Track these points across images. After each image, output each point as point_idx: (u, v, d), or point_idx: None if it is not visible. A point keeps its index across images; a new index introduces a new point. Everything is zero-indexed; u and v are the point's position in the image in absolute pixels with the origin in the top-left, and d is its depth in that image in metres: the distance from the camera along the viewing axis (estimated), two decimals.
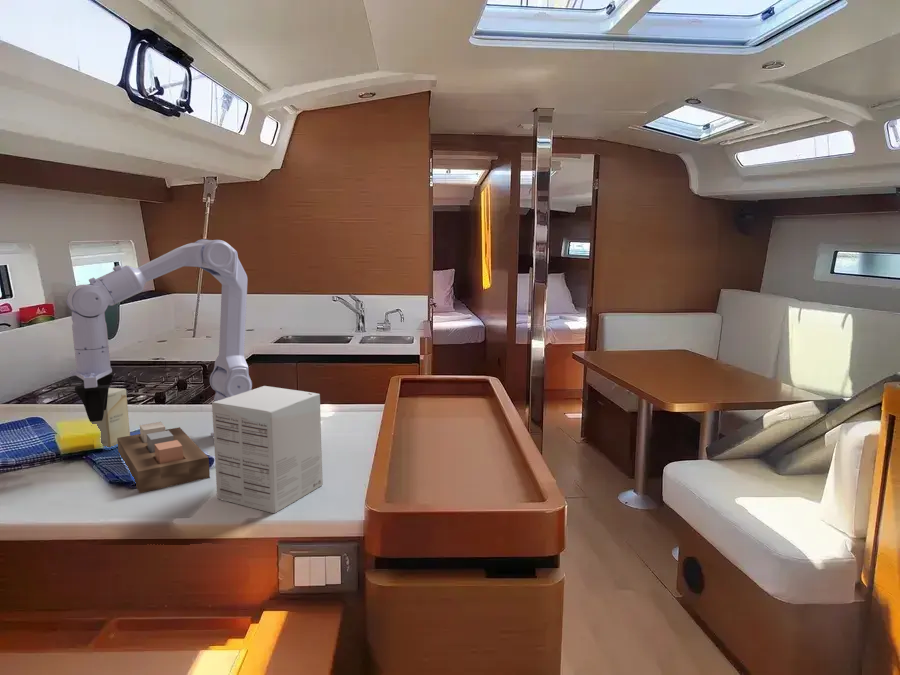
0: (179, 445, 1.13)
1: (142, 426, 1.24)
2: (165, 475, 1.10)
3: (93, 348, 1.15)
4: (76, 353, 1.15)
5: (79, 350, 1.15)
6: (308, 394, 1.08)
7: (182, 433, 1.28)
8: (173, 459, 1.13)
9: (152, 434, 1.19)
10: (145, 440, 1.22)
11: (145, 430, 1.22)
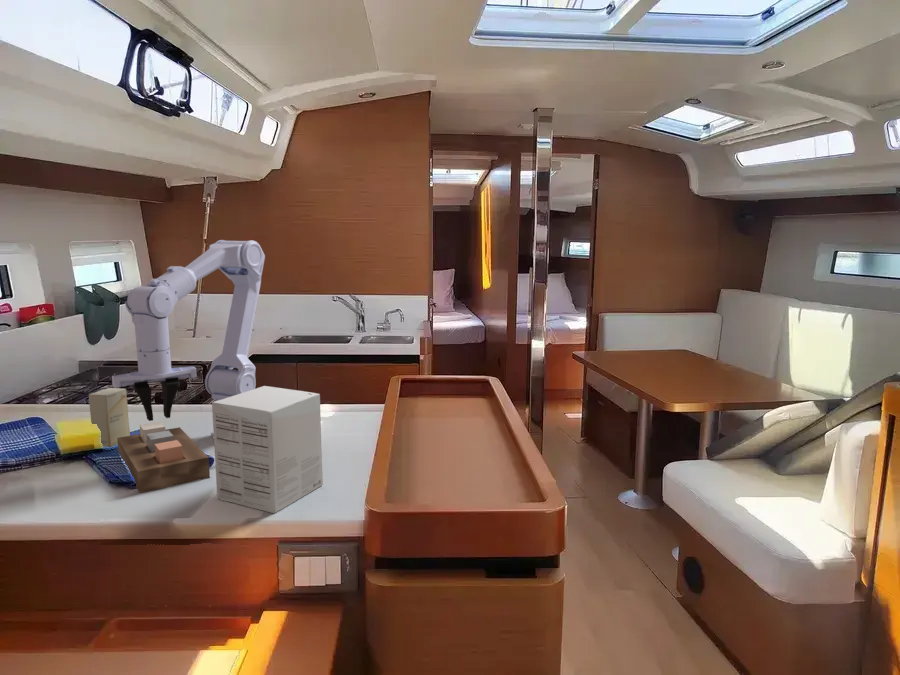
0: (179, 445, 1.13)
1: (142, 426, 1.24)
2: (165, 475, 1.10)
3: (163, 349, 1.15)
4: None
5: None
6: (308, 394, 1.08)
7: (182, 433, 1.28)
8: (173, 459, 1.13)
9: (152, 434, 1.19)
10: (145, 440, 1.22)
11: (145, 430, 1.22)
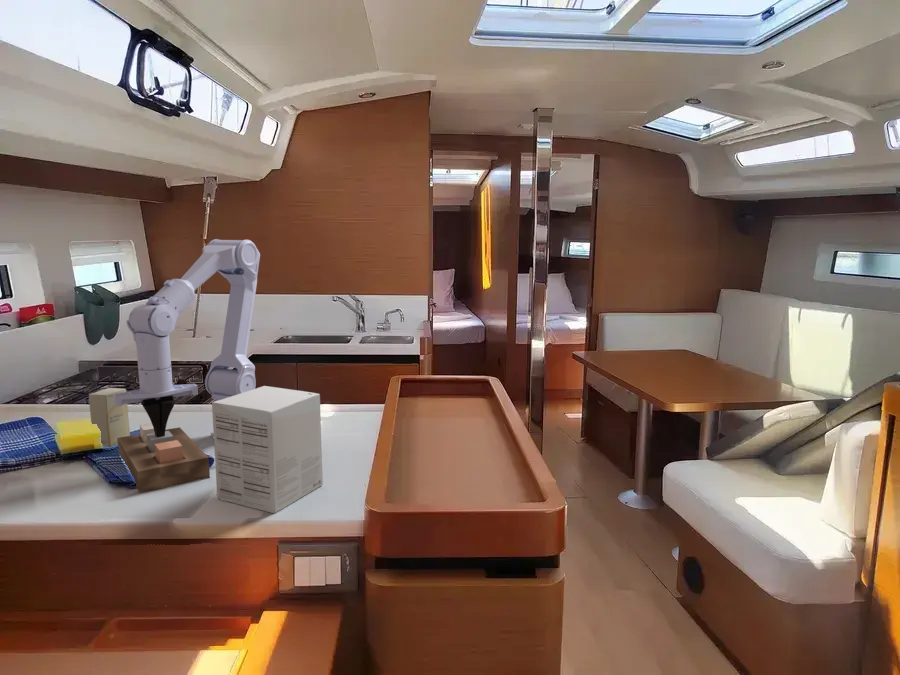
0: (179, 445, 1.13)
1: (142, 426, 1.24)
2: (165, 475, 1.10)
3: (164, 367, 1.16)
4: None
5: None
6: (308, 394, 1.08)
7: (182, 433, 1.28)
8: (173, 459, 1.13)
9: (152, 434, 1.19)
10: (145, 440, 1.22)
11: (145, 430, 1.22)
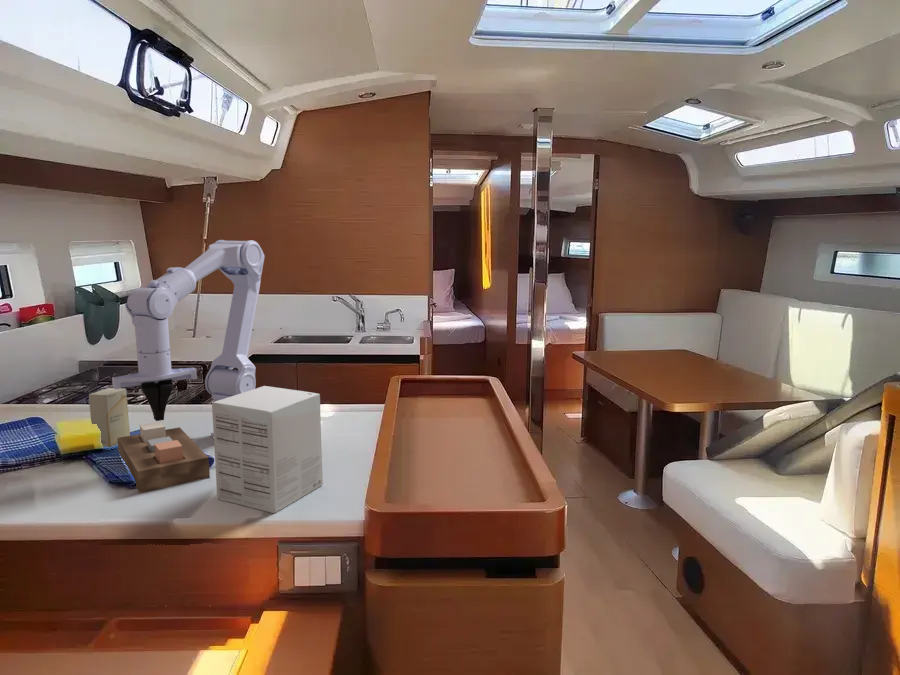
0: (179, 445, 1.13)
1: (142, 426, 1.24)
2: (165, 475, 1.10)
3: (163, 350, 1.15)
4: None
5: None
6: (308, 394, 1.08)
7: (182, 433, 1.28)
8: (173, 459, 1.13)
9: (152, 440, 1.20)
10: (145, 440, 1.22)
11: (145, 430, 1.22)
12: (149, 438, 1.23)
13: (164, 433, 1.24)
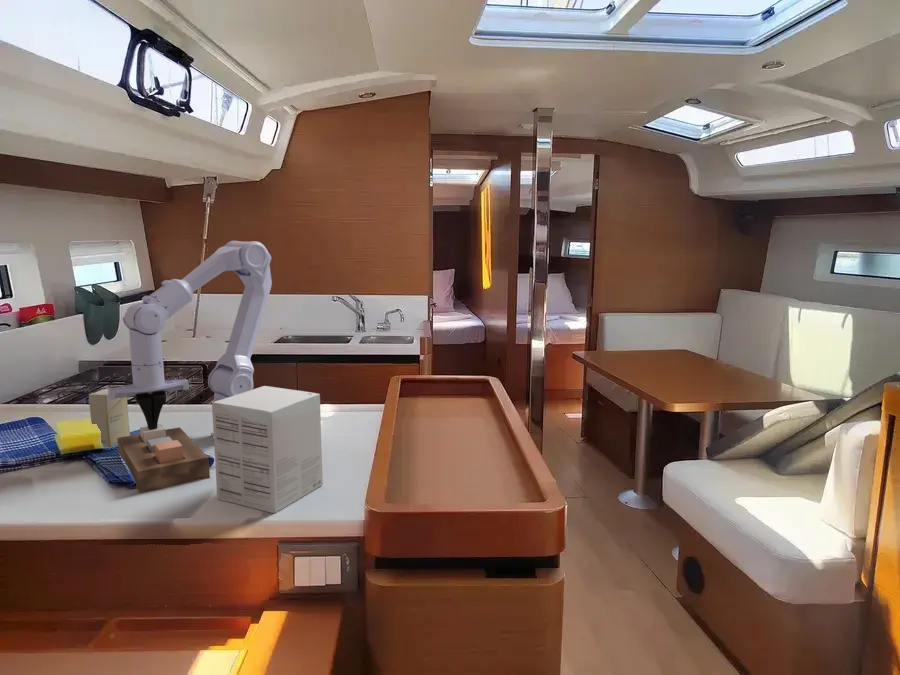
0: (179, 445, 1.13)
1: (142, 428, 1.24)
2: (165, 475, 1.10)
3: (152, 364, 1.20)
4: None
5: None
6: (308, 394, 1.08)
7: (182, 433, 1.28)
8: (173, 459, 1.13)
9: (152, 440, 1.20)
10: (145, 442, 1.22)
11: (145, 432, 1.22)
12: None
13: (164, 435, 1.24)
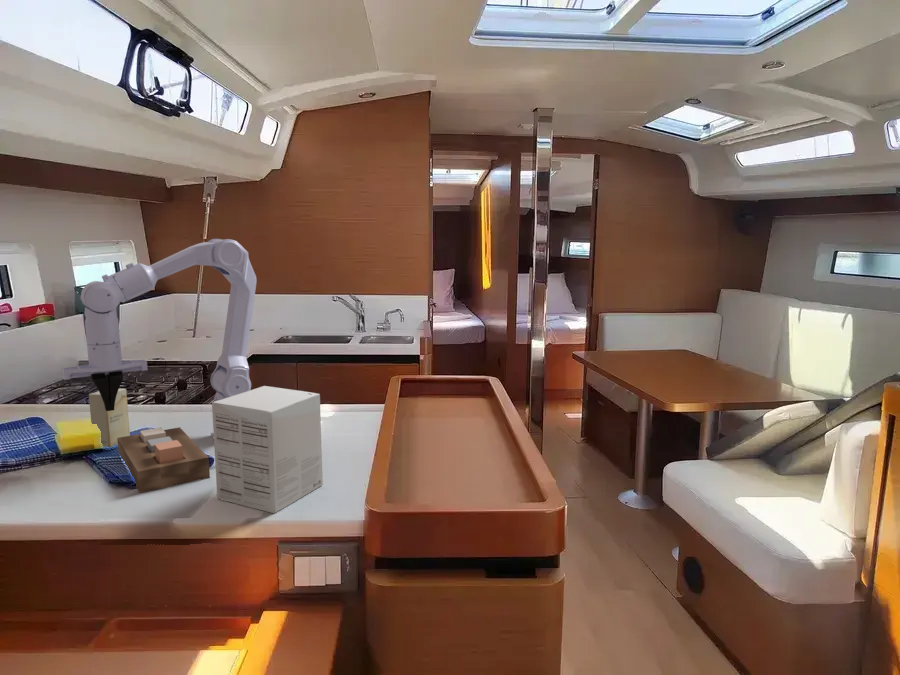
0: (179, 445, 1.13)
1: (142, 432, 1.24)
2: (165, 475, 1.10)
3: (104, 343, 1.18)
4: None
5: None
6: (308, 394, 1.08)
7: (182, 433, 1.28)
8: (173, 459, 1.13)
9: (152, 440, 1.20)
10: None
11: (145, 436, 1.22)
12: None
13: None
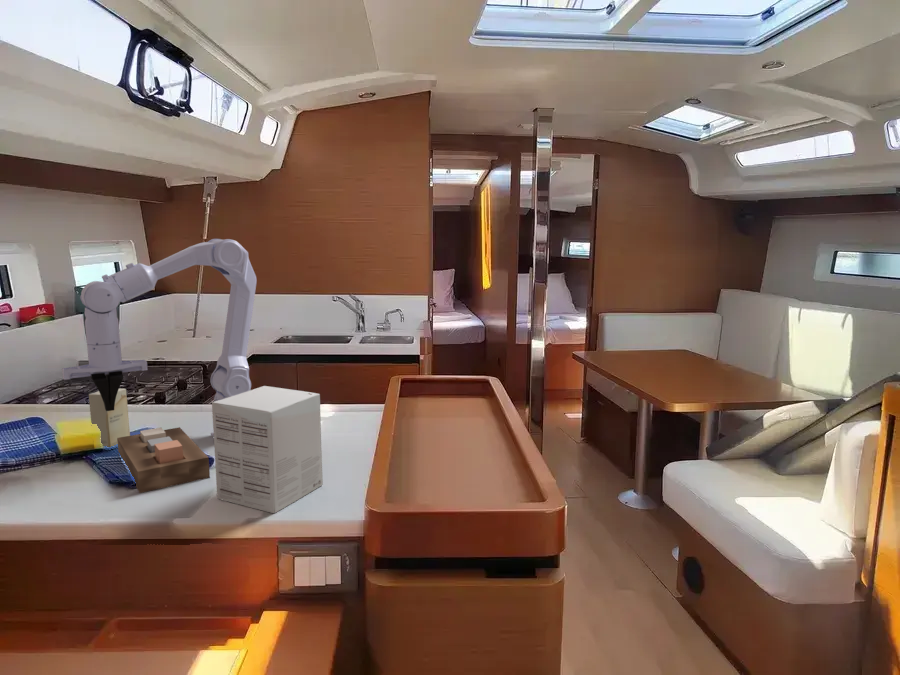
0: (179, 445, 1.13)
1: (142, 432, 1.24)
2: (165, 475, 1.10)
3: (104, 343, 1.18)
4: None
5: None
6: (308, 394, 1.08)
7: (182, 433, 1.28)
8: (173, 459, 1.13)
9: (152, 440, 1.20)
10: None
11: (145, 436, 1.22)
12: None
13: None
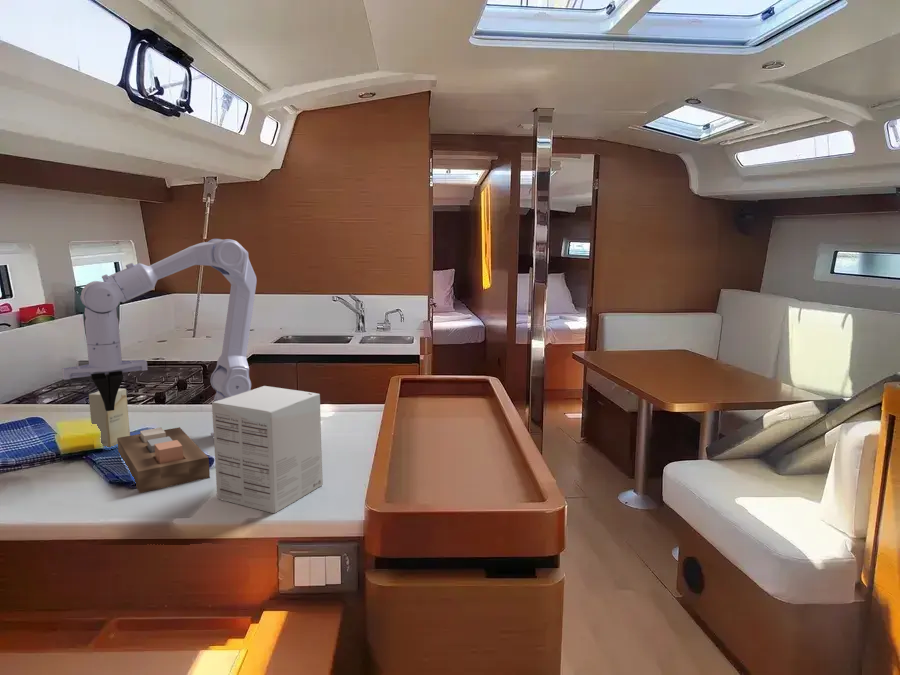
0: (179, 445, 1.13)
1: (142, 432, 1.24)
2: (165, 475, 1.10)
3: (104, 343, 1.18)
4: None
5: None
6: (308, 394, 1.08)
7: (182, 433, 1.28)
8: (173, 459, 1.13)
9: (152, 440, 1.20)
10: None
11: (145, 436, 1.22)
12: None
13: None
